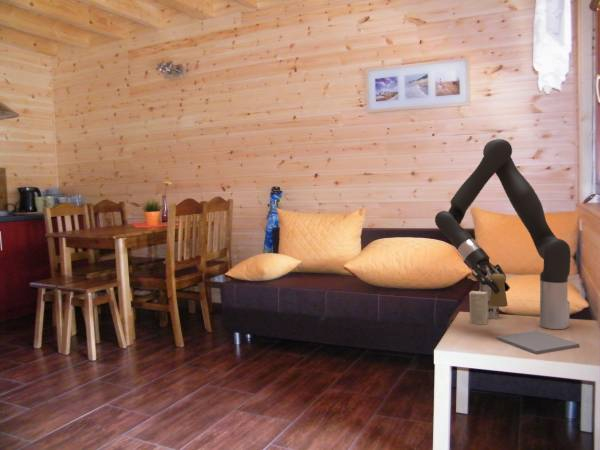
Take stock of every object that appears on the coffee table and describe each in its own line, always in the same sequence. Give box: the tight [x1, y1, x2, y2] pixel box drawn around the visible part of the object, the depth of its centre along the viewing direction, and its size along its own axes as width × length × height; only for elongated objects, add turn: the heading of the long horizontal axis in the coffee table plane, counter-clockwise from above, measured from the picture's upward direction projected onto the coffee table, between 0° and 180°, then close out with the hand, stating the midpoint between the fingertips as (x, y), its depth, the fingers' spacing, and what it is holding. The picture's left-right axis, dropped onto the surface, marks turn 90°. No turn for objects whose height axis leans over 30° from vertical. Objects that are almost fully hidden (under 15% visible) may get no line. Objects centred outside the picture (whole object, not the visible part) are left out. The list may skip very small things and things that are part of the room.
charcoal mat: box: [495, 329, 580, 355], centre depth 174 cm, size 18×18×1 cm
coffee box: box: [479, 278, 500, 320], centre depth 211 cm, size 9×6×16 cm
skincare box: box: [468, 290, 489, 326], centre depth 201 cm, size 6×4×12 cm
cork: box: [489, 274, 508, 308], centre depth 181 cm, size 6×6×11 cm
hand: (503, 291), depth 180 cm, fingers closed on cork, 5 cm apart
